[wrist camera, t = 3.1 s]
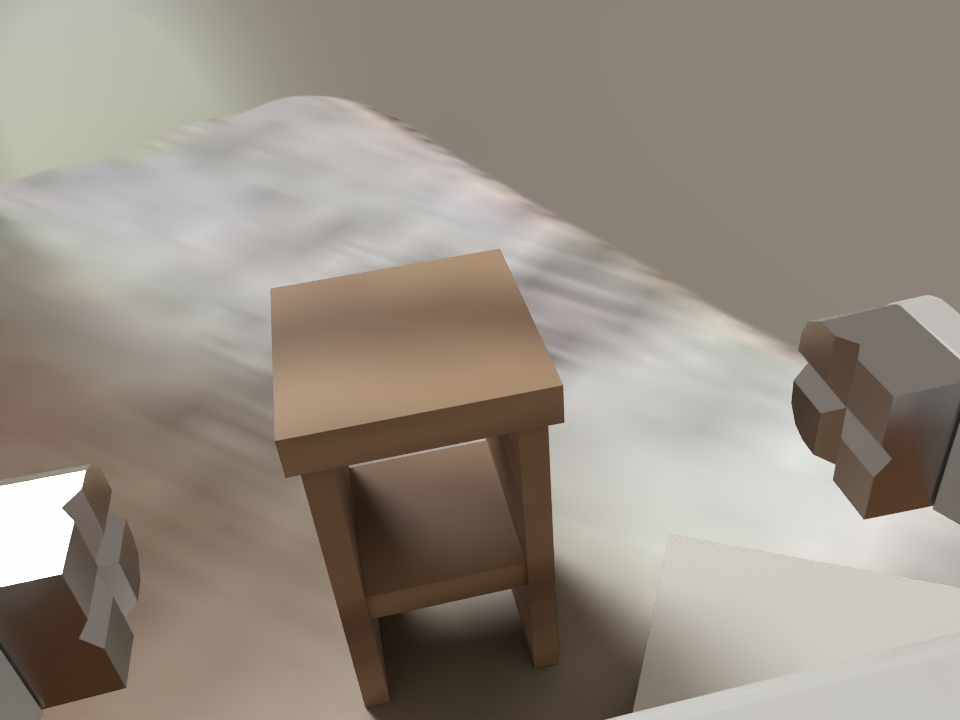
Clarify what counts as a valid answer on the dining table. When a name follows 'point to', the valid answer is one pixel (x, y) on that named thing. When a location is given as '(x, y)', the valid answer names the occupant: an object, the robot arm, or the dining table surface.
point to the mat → (774, 618)
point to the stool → (420, 443)
